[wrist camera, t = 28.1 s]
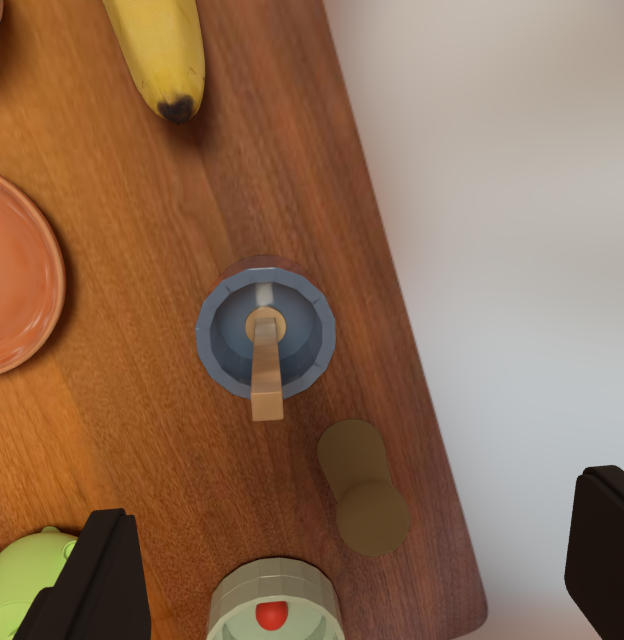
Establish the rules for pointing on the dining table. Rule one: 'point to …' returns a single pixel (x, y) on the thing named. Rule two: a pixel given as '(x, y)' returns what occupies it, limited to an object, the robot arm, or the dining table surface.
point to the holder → (256, 290)
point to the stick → (266, 362)
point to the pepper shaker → (363, 488)
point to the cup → (1, 8)
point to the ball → (271, 615)
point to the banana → (162, 53)
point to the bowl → (270, 586)
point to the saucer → (27, 277)
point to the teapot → (29, 573)
